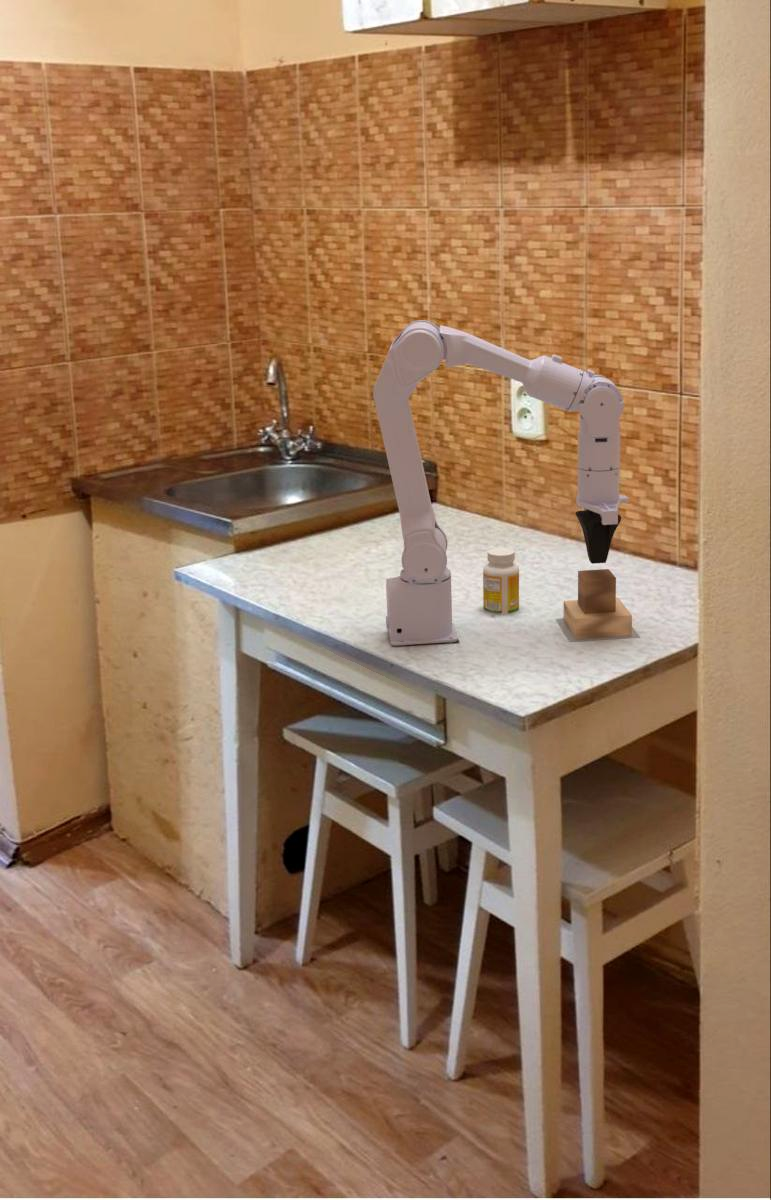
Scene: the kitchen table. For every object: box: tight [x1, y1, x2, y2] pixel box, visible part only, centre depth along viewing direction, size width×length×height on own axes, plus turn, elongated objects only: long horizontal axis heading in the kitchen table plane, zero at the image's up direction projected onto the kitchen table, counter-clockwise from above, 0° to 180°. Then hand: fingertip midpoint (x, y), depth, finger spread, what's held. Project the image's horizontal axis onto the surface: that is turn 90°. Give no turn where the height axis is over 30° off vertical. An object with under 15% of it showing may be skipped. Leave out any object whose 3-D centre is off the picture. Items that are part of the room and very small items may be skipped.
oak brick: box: [563, 597, 633, 639], centre depth 184 cm, size 8×8×3 cm
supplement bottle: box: [482, 547, 520, 616], centre depth 193 cm, size 5×5×10 cm
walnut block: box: [577, 568, 617, 614], centre depth 183 cm, size 4×4×5 cm
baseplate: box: [555, 617, 642, 643], centre depth 185 cm, size 10×10×1 cm
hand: (597, 562), depth 182 cm, fingers closed
